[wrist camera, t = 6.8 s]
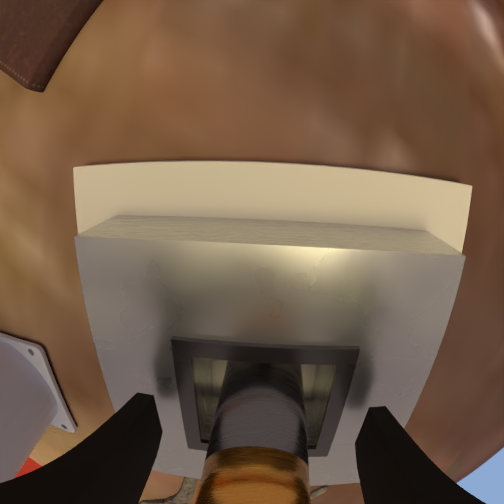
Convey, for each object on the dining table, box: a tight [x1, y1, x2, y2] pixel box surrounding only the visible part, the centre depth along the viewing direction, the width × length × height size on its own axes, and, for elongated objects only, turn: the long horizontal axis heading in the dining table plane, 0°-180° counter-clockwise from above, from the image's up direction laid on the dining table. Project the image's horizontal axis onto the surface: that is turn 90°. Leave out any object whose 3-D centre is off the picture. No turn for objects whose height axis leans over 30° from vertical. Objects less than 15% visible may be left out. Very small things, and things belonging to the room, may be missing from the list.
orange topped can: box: [195, 360, 311, 504], centre depth 9 cm, size 3×3×8 cm
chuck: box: [74, 215, 466, 486], centre depth 12 cm, size 12×12×3 cm
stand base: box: [73, 160, 472, 397], centre depth 14 cm, size 16×16×1 cm
